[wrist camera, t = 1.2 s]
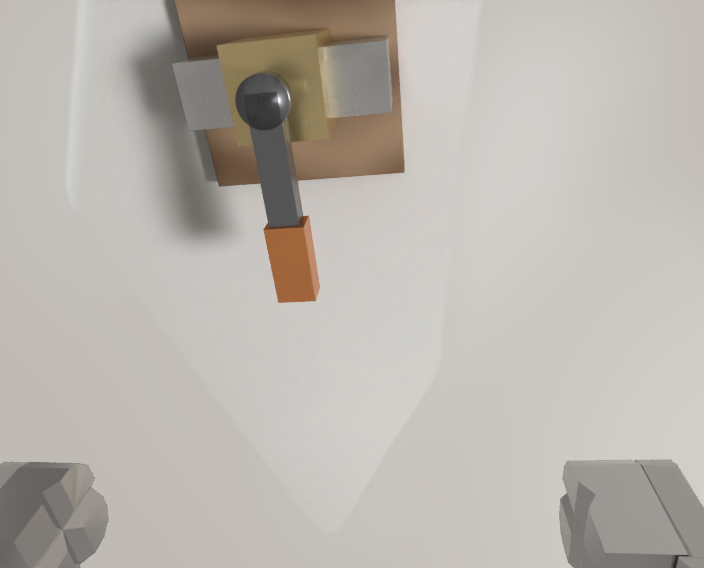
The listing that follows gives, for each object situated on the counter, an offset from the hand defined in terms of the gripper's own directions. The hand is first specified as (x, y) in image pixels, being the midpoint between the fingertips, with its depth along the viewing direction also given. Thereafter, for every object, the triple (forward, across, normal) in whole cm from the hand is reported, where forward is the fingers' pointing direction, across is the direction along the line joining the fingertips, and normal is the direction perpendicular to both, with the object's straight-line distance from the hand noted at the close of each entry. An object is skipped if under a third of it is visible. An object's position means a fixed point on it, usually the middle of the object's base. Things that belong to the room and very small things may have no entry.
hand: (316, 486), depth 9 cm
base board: (+32, +6, -4) cm, 32 cm away
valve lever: (+23, +6, +1) cm, 24 cm away
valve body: (+30, +6, -4) cm, 31 cm away
